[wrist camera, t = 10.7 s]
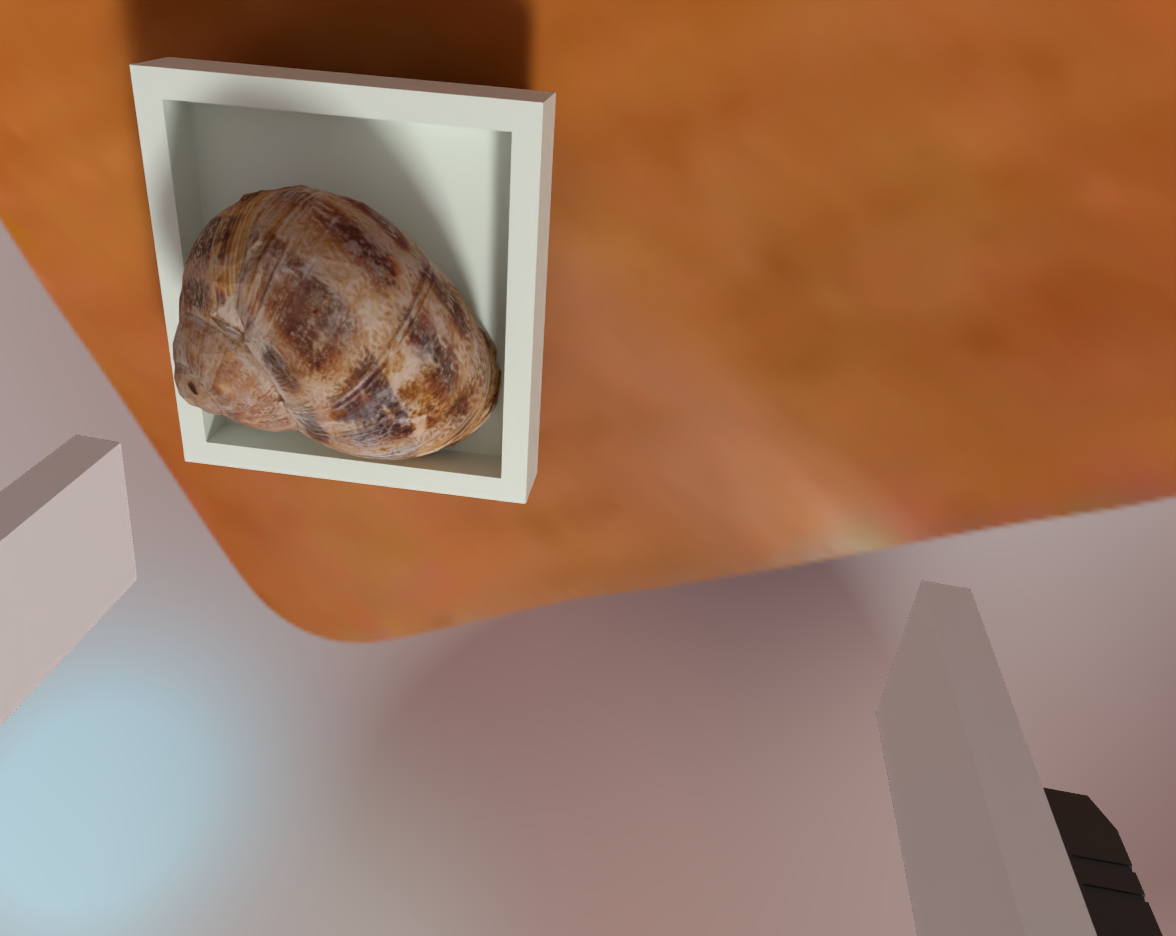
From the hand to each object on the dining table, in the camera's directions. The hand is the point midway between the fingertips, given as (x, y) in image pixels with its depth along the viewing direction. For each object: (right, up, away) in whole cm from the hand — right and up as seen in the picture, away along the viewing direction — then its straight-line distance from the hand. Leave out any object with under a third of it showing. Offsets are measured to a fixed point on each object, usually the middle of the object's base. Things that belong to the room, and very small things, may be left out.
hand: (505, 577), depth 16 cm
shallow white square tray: (-7, +10, +24) cm, 27 cm away
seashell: (-7, +8, +22) cm, 24 cm away
